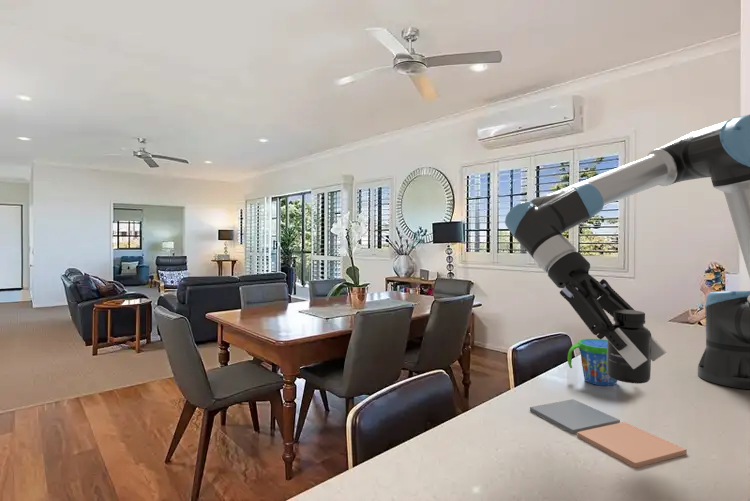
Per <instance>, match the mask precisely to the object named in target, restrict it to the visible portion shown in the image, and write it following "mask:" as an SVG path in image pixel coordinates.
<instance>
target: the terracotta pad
mask: <svg viewBox="0 0 750 501" xmlns="http://www.w3.org/2000/svg"><path fill="white" fill-rule="evenodd" d="M576 436H577V437H578V438H579V439H581V440H583V441H585V442H586V443H589V444H590V445H592V446H594V447H595V448H598V450H599V449H600V450H602V451H604V452H605V453H607V454H609V455H610V456H612V457H614V458H616V459H618V460H620V461H622V462H624V463H626V464H627V465H629V466H631V467H632V468H634V469H637V468H641V467H644V466H648V465H652V464H655V463H658V462H659V463H660V462H663V461H666V460H670V459H673V458H678V457H681V456H684V455H687V454H688V453H687V450H688V449H686V448H684V447H683V446H679V445H678V444H675V443H673V442H670V441H669V440H666V439H664V438H662V437H659V436H658V435H654V434H652V433H650V432H648V431H647V430H646V431H645V430H644V429H641V428H639V427H637V426H635V425H632V424H630V423H628V422H626V421H622V422H621V421H620V423H617V424H612V425H608V426H603V427H598V428H594V429H589V430H585V431H580V432H577V433H576Z"/></svg>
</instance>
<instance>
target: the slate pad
mask: <svg viewBox="0 0 750 501" xmlns="http://www.w3.org/2000/svg"><path fill="white" fill-rule="evenodd" d="M529 411H530V412H532V413H533V414H535V415H537V416H539V417H540V418H542V419H544V420H546V421H548V422H550V423H551V424H554V425H556V426H558V427H559V428H561V429H563V430H564V431H566V432H568V433H570V434H572V435H577V432H580V431H585V430H589V429H594V428H598V427H603V426H608V425H612V424H617V423H621V419H619V418H616V417H614V416H612V415H610V414H607V412H606V413H605V412H603V411H601V410H599V409H596V408H594V407H593V406H590V405H587V404H585V403H583V402H580V401H579V400H576V399H574V398H572V399H566V400H561V401H560V400H559V401H555V402H550V403H547V404H546V403H545V404H540V405H534V406H530V407H529Z"/></svg>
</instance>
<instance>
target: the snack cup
mask: <svg viewBox="0 0 750 501" xmlns="http://www.w3.org/2000/svg"><path fill="white" fill-rule="evenodd" d="M575 349H578V350H579V352H580V361H581V366H582V373H583V374H582V375H583V378H584V379H583V380H585V382H587V383H590V384H593V385H596V386H603V387H604V386H605V387H606V386H614V385H616V384H617V383H618V382H619V381H618V380H615V379H612V378H611V377H609V376H608V374H607V339H604V338H602V339H599V338H582V339H579V340H578V342H576V343H574V344H573V345H571V346H570V348H569V350H568V351H567V352H568V353H567V364H568V367H569V368H570V369H573V366H572V362H573V359H572V357H573V351H575Z"/></svg>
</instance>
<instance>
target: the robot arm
mask: <svg viewBox="0 0 750 501" xmlns="http://www.w3.org/2000/svg"><path fill="white" fill-rule="evenodd" d="M705 178H710V179H711V183H712V186H713V187H712V188H714V189H716V190H719V191H721V192H723V194H724V196H725V199H726V203H727V204H726V205H727V208H728V210H729V213H730V217H731V221H732V223H733V227H734V231H735V234H736V237H737V240H738V244H739V247H740V251H741V254H742V257H743V261H744V263H745V267H746V271H747V273H748V277H749V279H750V114H746V115H741V116H736V117H732V118H731V119H728V120H725V121H723V122H722V121H721V122H719V123H715V124H713V125H710V126H706V127H703V128H699V129H696V130H695V131H694V130H693V131H691V132H690V133H687V134H685V135H683V136H681V137H679V138H678V139H675V140H673V141H671V142H668V143H667V144H665V145H662V146H660V147H658V148H655V149H652V150H651V151H649V153H647V156H645V157H643V158H640V159H637V160H636V161H635V160H634V161H632V162H629V163H627V164H624V165H621V166H619V167H616V168H614V169H612V170H609V171H606V172H603V173H601V174H598V175H595V176H593V177H590V178H588V179H584V180H583V181H579V182H577V183H574V184H572V185H569V186H567V187H564V188H560V189H559V190H557V191H552V192H551V193H548V194H545V195H543V196H537V197H535V198H533V199H530V200H527V201H522V202H519V203H518V204H516V205H515V206H513V207H511V209H510V210H509V211H508V213H507V214H506V216H505V220H504V224H505V226H506V228H507V229H508V231H509V232H510V233H511V235H512V236H513V238H514V239H515V240H516V241H517V242H518V243H519V244H520V245H521V246H522V248H524V250H525V251H526V252H527V253H528V254H529V256H531V258H532V259H533V260H534V261H535V262H536V263H537V266H538V268H540V269H542V270H543V272H544V273H545V274H546V273H547V276H548V278H549V279H550V280H551V281H552V282H553V284H554V285H555V286H556V287H557V288H559V289H561V290H560V291H559V294H560V296H561V297H562V298H564V299H565V300H566V301H567V302H568V304H570V306H571V307H572V308H573V310H574V311H575V313H576V314H577V315H578V316H579V318H580V319H581V320H582V322H583V323H584V324H585V326H586V327H587V328H588V330H590V332H591V333H592V334H593V335H595V336H596V337H597V339H604V338H605V339H606V340H607V339H608V341H609V342H610V343H611V344H612V345H613V346H614V348H615V349H616V350H617V351H618V352H619V353H620V354H621V356H622V357H623V358H624V359H625V360H626V361H627V363H628V364H629V365H630V366H631V367H632V368H633V369H635V368H637V367H638V366H639V365H641V364H642V363H644V362H645V361H647V360H648V359H647V358H646V357H645V356H644V355H643V354H642V353H641V352H640V351H639V349H638V348H637V347H636V346H635V345H634V344H633V343H632V342H631V341H630V339H629V338H628V337H627V336H626V335H625V334H624V333H623V332H622V331H621V330H620V328H616V329H615V327H614V325H613V324H614V323H612V321H611V319H610V317H609V316H608V315H607V314H609V315H610V316H611V317H612V319H613V318H614V310H635V309H634V308H633V307H632V306H631V305H630V304H629V303H628V302H627V301H626V300H625V299H624V298H623V297H621V295H619V293H618V292H616V291H615V290H614V288H613V287H612V286H611V285H610V284H609V282H608V281H607V280H606V279H604V278H602V279H601V280H600V281H598V280H597V279H596V278H594V277H593V276H592V275H590V272H589V271H590V269H591V264H590V262H589V261H588V260H587V259H586V258H585V257H584V256H583V254H581V253H580V252H579V251H577V248H576V247H575V246H574V245H573V244H572V243H571V242H570V241H569V240H568V239H567V237H565V236H564V235H563V234H564V233H565V232H568V231H569V230H570V229H572V228H575V227H576V226H578V225H580V224H582V223H584V222H586V221H587V220H591V219H592V218H593V217H594V216H595V215H597V214H599V213H601V212H602V211H603V209H604V206H607V205H609V204H613V203H615V202H616V201H619V200H622V199H624V198H628V197H630V196H633V195H637V194H638V193H640V192H643V191H646V190H649V189H652V188H654V187H657V186H660V187H668V186H671V185H673V184H676V183H681V182H684V181H690V180H691V181H692V180H697V179H705ZM705 300H706V302H705V305H704V307H705V348H704V351H703V353H702V356H701V357H700V360H699V363H698V364H697V376H698V377H699V378H701V379H702V380H705V381H707V382H709V383H712V384H716V385H720V386H724V387H730V388H734V389H735V388H736V389H741V390H750V290H726V291H724V290H723V291H711V292H708V294H707V295H706V299H705ZM613 329H615V330H613ZM667 353H668V351H666V350H665V349H664V347H663V346H661V344H660V343H659V342H658V341H657V340H656V339H655V338H654V337H653V336H652V335H651V362H655V361H657V360H658V359H659V358H661V357H662V356H664V355H665V354H667Z"/></svg>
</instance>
